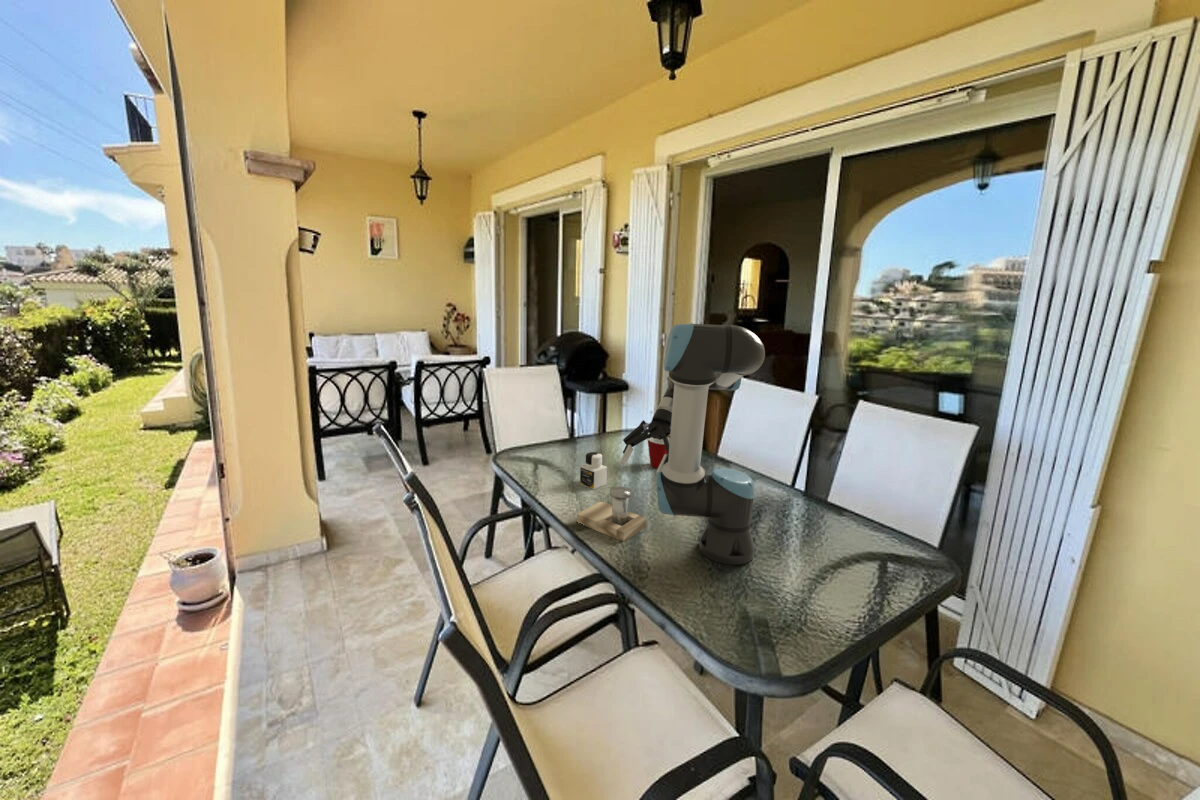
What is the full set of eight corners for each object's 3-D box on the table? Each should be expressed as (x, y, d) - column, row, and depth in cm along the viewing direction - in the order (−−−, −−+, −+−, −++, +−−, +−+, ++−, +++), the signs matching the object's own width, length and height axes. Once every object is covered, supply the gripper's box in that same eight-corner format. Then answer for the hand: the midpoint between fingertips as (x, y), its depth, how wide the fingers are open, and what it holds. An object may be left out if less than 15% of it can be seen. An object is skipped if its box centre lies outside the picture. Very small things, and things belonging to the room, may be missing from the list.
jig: (646, 526, 154) (646, 517, 153) (623, 541, 145) (624, 532, 144) (600, 509, 165) (600, 501, 164) (576, 522, 156) (576, 513, 155)
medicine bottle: (579, 484, 185) (580, 453, 182) (592, 479, 190) (593, 449, 187) (593, 489, 180) (594, 458, 178) (606, 484, 185) (607, 454, 183)
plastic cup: (673, 471, 201) (674, 442, 198) (646, 470, 201) (647, 441, 198) (669, 461, 211) (671, 434, 208) (644, 460, 211) (645, 433, 208)
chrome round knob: (633, 527, 154) (635, 490, 151) (621, 535, 149) (623, 497, 146) (616, 520, 157) (618, 484, 155) (604, 528, 152) (605, 491, 150)
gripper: (704, 427, 161) (678, 484, 153) (639, 413, 175) (612, 465, 167) (698, 414, 155) (671, 473, 147) (631, 401, 170) (603, 454, 162)
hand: (640, 469), depth 157 cm, fingers open, 13 cm apart
